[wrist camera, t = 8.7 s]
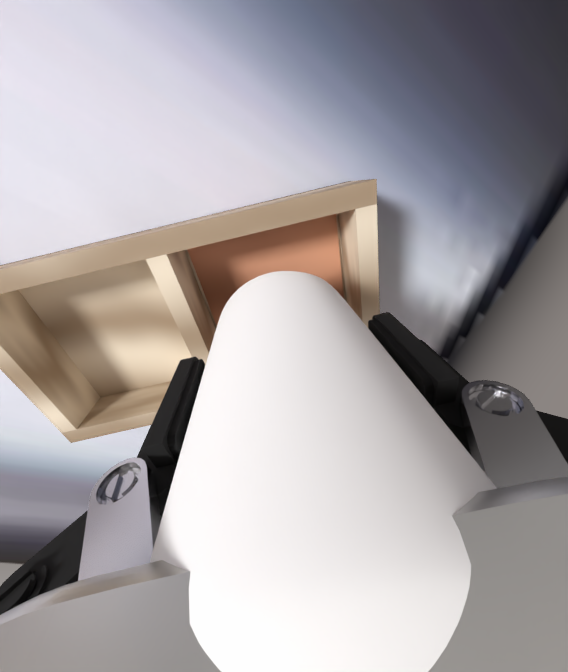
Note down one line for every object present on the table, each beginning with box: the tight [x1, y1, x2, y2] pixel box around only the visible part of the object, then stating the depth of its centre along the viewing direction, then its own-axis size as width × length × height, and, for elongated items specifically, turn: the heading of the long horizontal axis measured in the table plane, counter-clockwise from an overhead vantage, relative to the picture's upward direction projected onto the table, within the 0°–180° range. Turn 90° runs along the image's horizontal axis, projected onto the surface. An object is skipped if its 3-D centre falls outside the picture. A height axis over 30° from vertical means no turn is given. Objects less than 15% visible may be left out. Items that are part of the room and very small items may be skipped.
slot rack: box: [0, 179, 380, 443], centre depth 16 cm, size 11×21×4 cm, turn 102°
